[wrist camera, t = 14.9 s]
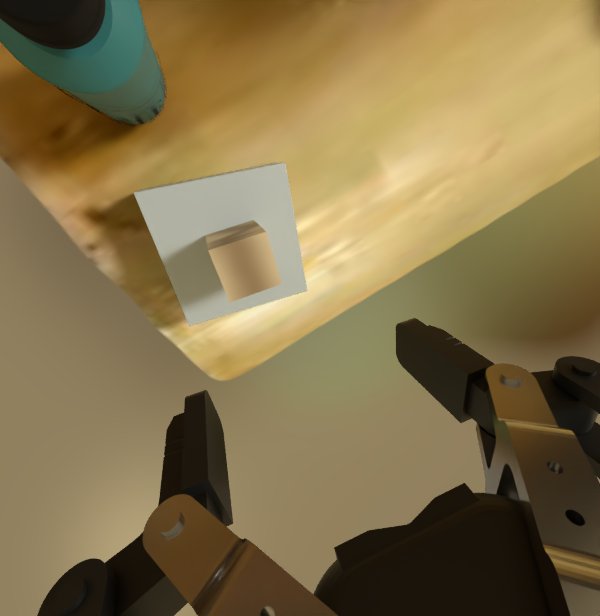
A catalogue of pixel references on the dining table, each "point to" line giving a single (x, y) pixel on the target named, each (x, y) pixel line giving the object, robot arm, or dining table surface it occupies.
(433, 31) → the dining table surface
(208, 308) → the base block
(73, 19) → the beverage bottle
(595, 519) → the robot arm
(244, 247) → the maple block
